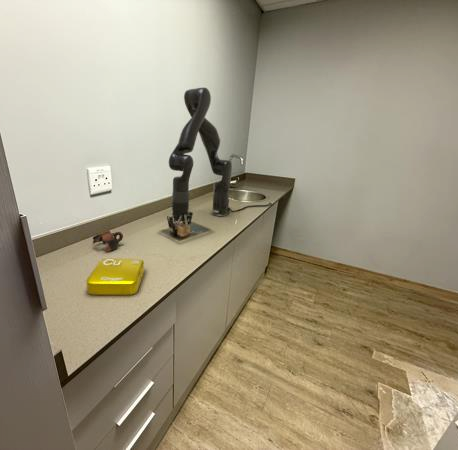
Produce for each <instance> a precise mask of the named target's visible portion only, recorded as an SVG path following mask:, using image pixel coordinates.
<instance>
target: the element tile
mask: <svg viewBox="0 0 458 450" xmlns="http://www.w3.org/2000/svg"><path fill="white" fill-rule="evenodd" d="M144 274H145V262H144V260H143V259H139V258H103V259H101V260H100V261H98V263H97V265H96V266H95V267H94V269H93V270H92V272H91V273H90V274H89V276H88V277H87V279H86V288H87V289H86V290H87V293H88V294H89V295H95V296H96V295H97V296H100V295H101V296H102V295H103V296H131V295H135V294H136V293H137V292H138V291H139V288H140V285H141V282H142V280H143V277H144Z"/></svg>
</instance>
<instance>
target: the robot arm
mask: <svg viewBox="0 0 458 450" xmlns="http://www.w3.org/2000/svg"><path fill="white" fill-rule="evenodd" d="M183 100H184V105H185V107H186V110H187V112H188V114H189V115H190V119H189V120H188V121H187V122H186V124H185V125H184V126H183V128H182V129H181V131H180V135H179V139H178V142H177V143H176V146H175V147H174V148H173V150H172V152H171V154H170V155H169V158H168V167H169V168H170V170H172V171H176V172H182V173H181V175H176V176H174V177H173V178H172V194H171V210H172V214H170V215H167V216H166V219H167V224H168V228H172V229H173V235H174V236H177V227H178V225H179V223H180V222H181V223H183V224H186V225H188V224H191V222H192V221H193V220H192V219H193V214H194V213H193V211H190V210H189V206H190V193H189V192H190V191H189V188H190V187H189V186H190V178H191V174H192V171H193V168H194V159H193V157H192V156H191V155H190V154H189V153H192V152H193V151H194V148H195V144H196V141H197V137H198V135H199V137H200V140H201V142H202V145H203V147H204V150H205V152H206V155H207V156H208V161H209V163H210V168H211V171H212V173H213V174H214V175H216V176H221V179H220V180H215V181H214V182H213V194H212V195H213V197H212V210H211V211H212V212H211V214H212V215H213V216H214V217H215V216H216V217H226V216H227V215H228V214H229V213H230V212H231V213H237V212H239V211H243V210H244V209H246V208H252V207H253V208H254V207H268V206H272V203H271V202H268V204H254V205H253V204H252V205H247V206H243V207H242V208H239V209H236V210H232V209H231V207H229V204H230V199H229V194H230V184H231V180H232V172H233V164H232V161H231V160H229V159H220V158H219V157H220V156H218V151H219V149H220V146H221V138H220V135H219V132H218V130H217V128H216V126H215V125H214V124H212V122H211V121H209V119H207V118H206V116H207V113H208V112H209V109H210V106H211V101H212V96H211V92H210V90H209V89H208V88H207V87H196V88H189V89H187V90H185V92H184V94H183ZM175 224H176V225H175Z"/></svg>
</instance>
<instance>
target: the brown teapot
mask: <svg viewBox="0 0 458 450" xmlns="http://www.w3.org/2000/svg"><path fill="white" fill-rule="evenodd" d="M118 236H119V237H118ZM117 237H118V238H117ZM92 239H93V240H92V245H95V244H96V243H100V242H102V243H103V244H107V245H106V246H105V247H103V249H104V250H105V252H106V253H109V252H111V251H113V250H116V249H118V245H119V243H120V242H122V240H123V239H124V234H123V233H122V232H121V231H116V232H111V230H108V229H107V230H105V231H103V232H101V233H99V234H96V235H94V236H92Z"/></svg>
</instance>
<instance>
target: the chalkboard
mask: <svg viewBox="0 0 458 450" xmlns="http://www.w3.org/2000/svg"><path fill="white" fill-rule="evenodd" d="M188 226H190V236H189V237H186V238H183V239H181V238H179V237H177V236H174V235H173V234H171V233H170V227H167V228H164V229H159V232H161V233H162V234H164V235H165V236H168V239H170V240H171V241H173V239H174V240H176V241H178V242H182V241H184V240H188V239H190V238H194V237H196V236H200V235H203V234H205V233H208V232H211V231H213V228H210V227H207V226H205V225H202V224H199V223H197V222H194V221H191V224H188ZM169 237H170V238H169ZM171 238H172V239H171Z"/></svg>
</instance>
